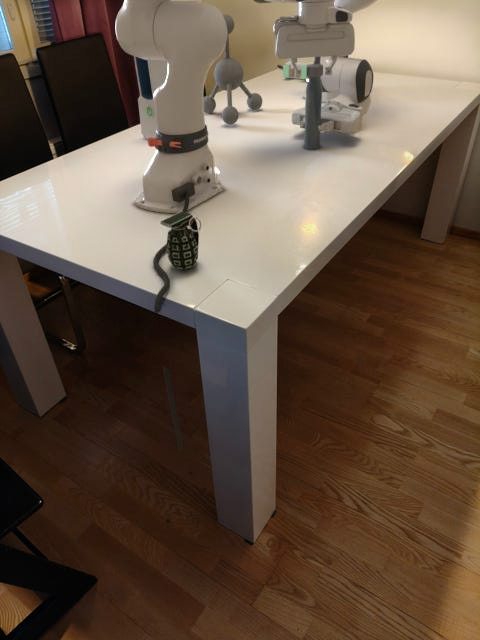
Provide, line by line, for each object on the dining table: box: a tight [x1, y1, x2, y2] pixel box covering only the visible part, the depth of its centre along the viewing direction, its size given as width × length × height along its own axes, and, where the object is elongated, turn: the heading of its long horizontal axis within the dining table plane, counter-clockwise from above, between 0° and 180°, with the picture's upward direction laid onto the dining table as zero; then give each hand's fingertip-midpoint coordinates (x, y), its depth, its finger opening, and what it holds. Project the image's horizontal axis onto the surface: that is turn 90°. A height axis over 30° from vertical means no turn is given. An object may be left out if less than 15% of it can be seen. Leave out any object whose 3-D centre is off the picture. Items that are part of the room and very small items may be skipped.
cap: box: [306, 64, 323, 77], centre depth 128 cm, size 4×4×2 cm
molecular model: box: [203, 13, 263, 125], centre depth 160 cm, size 24×22×30 cm
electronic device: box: [133, 56, 168, 140], centre depth 143 cm, size 12×8×30 cm, turn 47°
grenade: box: [159, 211, 202, 271], centre depth 88 cm, size 7×6×10 cm
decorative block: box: [282, 57, 315, 80], centre depth 211 cm, size 26×6×20 cm
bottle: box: [303, 77, 323, 151], centre depth 134 cm, size 4×4×20 cm
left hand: (313, 75), depth 129 cm, fingers open, 7 cm apart
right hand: (311, 127), depth 136 cm, fingers closed on bottle, 4 cm apart
